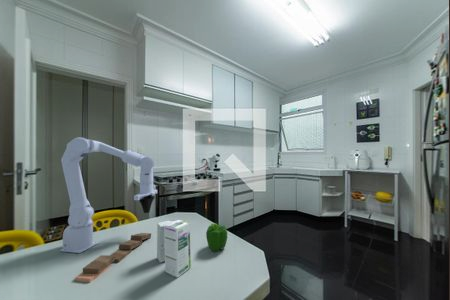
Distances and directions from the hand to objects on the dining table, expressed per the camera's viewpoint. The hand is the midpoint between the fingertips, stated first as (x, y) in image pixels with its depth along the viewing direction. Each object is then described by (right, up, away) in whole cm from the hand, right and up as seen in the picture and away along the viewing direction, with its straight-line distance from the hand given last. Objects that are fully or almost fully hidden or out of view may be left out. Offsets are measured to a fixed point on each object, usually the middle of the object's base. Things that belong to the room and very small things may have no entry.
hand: (146, 212), depth 81 cm
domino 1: (-4, -8, -22) cm, 23 cm away
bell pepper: (+33, -10, -13) cm, 37 cm away
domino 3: (-1, -9, -8) cm, 12 cm away
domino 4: (-2, -10, -14) cm, 17 cm away
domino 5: (0, -10, -2) cm, 10 cm away
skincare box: (+16, -10, -19) cm, 26 cm away
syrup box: (+21, -9, -26) cm, 35 cm away
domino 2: (-4, -9, -23) cm, 25 cm away
